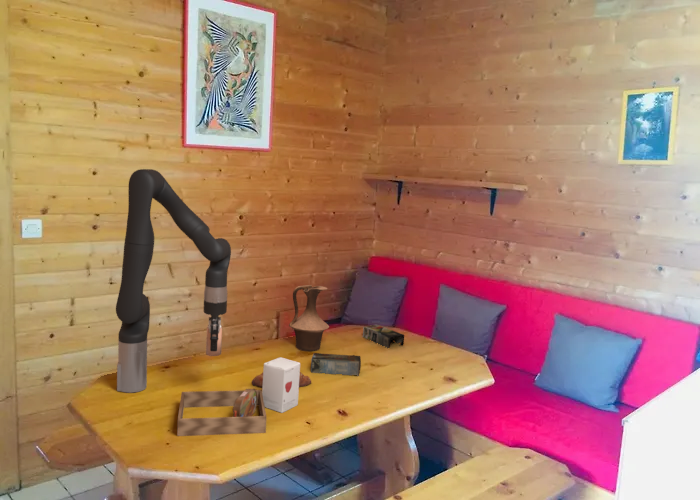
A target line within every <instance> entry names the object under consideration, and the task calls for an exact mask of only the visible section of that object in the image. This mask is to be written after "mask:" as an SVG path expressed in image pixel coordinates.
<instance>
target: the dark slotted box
mask: <svg viewBox="0 0 700 500" xmlns="http://www.w3.org/2000/svg"><path fill="white" fill-rule="evenodd" d="M362 329H363V330H362V338H363V337H364V339H365V340H367V339H368V341H370V340H371V341H370V342H372V341H373V342H372V343H374V342H375V344H377V343H378V344H377V345H379V344H380V345H379V346H381V345H382V346H381V347H383V346H385V347H384V348H386V347H387V348H386V349H388V348H390V347H391V342H394V341H395V342H396V343H395V342H394V343H395V344H399V346H400V345H401V346H404V343H405V334H403V333H400V332H398V331H396V330H393V329H390V328H388V327H385V326H382V325H380V324H370V325H367V326H363V328H362ZM391 340H392V341H391Z"/></svg>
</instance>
